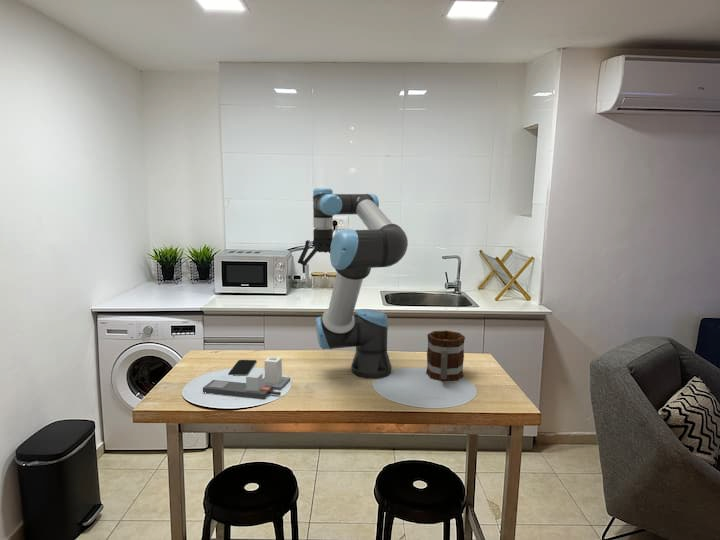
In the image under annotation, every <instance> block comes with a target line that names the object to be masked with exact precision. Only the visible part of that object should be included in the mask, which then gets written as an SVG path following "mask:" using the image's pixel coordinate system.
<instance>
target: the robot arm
mask: <svg viewBox="0 0 720 540" xmlns="http://www.w3.org/2000/svg"><path fill="white" fill-rule="evenodd" d="M312 192H313V193H312V195H313V196H312V202H313V205H312V206H313V207H312V208H313V209H312V210H313V214H312V215H313V223H312V224H313V231H312V232H313V233H312V234H313V240H310V239H308V240H305V244H304V248H303V249H302V252H301V254H300V256H299V258H298V260H297V263H298V264H300V265H302V273H303V274H304V282H305V283H307V282H310V266H309V264H308V263H309V262H310V260H311V259H312V258H313V257H314V256H315V254H317V252H318V253H325V254H326V253H329V258H330V264H331V266H332V267H333V269H334V270H335V272H336V273H335V279H334V284H333V288H332V292H331V297H330V302H329V307H328V308H327V309H326V310H325V311H324V312H323V313H322V316H318V317H316V318H315V331H316V337H317V342H318V346H319V347H320V348H321V349H322V350H335V349H343V348H353V347H355V353H354V355H353V358H352V362H351V366H350V372H351V374H352V375H354V376H355V377H358V378H362V379H367V380H368V379H370V380H373V379H383V378H385V377H389V376H390V375H391V374H392V363H391V360H390V356H389V354H388V353H389V352H388V329H389V325H388V316H387V314H385V312H382V311H380V310H376V309H371V308H359V309H357V310H356V311H355V307H356V304H357V301H358V299H359V294H360V291H361V287H362V284H363V281H364V279H366V278H367V277H368V276H369V275H370V273H371V270H372V269H375V268H377V269H378V268H388V267H392V266H393V265H396V264H398V263H399V262H400V261H401V260H402V259H403V258H404V257H405V255H406V253H407V250H408V245H409V244H408V242H409V241H408V236H407V235H406V232H405V231H404V229H403V228H402V227H400V226H399V225H398V224H396V223H393V222H392V220H390V219H389V218H388V217H387V215H386V214H385V213H384V212H383V211H382V209H380V208H379V207H380V201H379V198H378V196H377V195H376V194H371V193H333V189H332V188H326V187H325V188H324V187H323V188H318V187H317V188H314V189H313V191H312ZM335 215H337V216H338V215H341V216H342V215H345V216H346V215H357V216H358V218H359V219H360V220H361V221H362V223H363V224H364V225H365V226H366V228H367V229H352V228H349V229H344V230H343V229H342V230H338V231H337V232H335V234H334V230H333V229H332V228H333V227H334V226H333V224H334V217H333V216H335ZM311 246H313V247H314V248H313V249H312V250H311V252H310V253H309V254H308V256H307V253H308V251H309V249H310V248H311ZM305 257H306V258H305ZM354 312H355V314H354Z"/></svg>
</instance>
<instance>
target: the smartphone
mask: <svg viewBox="0 0 720 540" xmlns="http://www.w3.org/2000/svg"><path fill="white" fill-rule="evenodd" d="M256 364H257V359H256V360H255V359H238V360H237V362H236V363H235V364H234V365H233V367H232V368H230V370H229V372H228V374H227V375H228V376H229V375H233V376H234V377H235V376H236V375H237V376H240V377H246V376H248V375H249V374H250V373H251V372H252V370H253V369H254V367H255V366H256ZM233 376H232V377H233Z"/></svg>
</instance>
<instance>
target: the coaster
mask: <svg viewBox="0 0 720 540" xmlns="http://www.w3.org/2000/svg"><path fill="white" fill-rule="evenodd" d="M262 378H263V385H271V386H273V391H276V390H277V391H282V390H283V389H284V388H285V387H286V385H288V384H289V382H290V381H291V377H290V376H289V377H287V376H282V380H281V381H280V382H279V383H278V384H269V383H265V376H264V377H262Z"/></svg>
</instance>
